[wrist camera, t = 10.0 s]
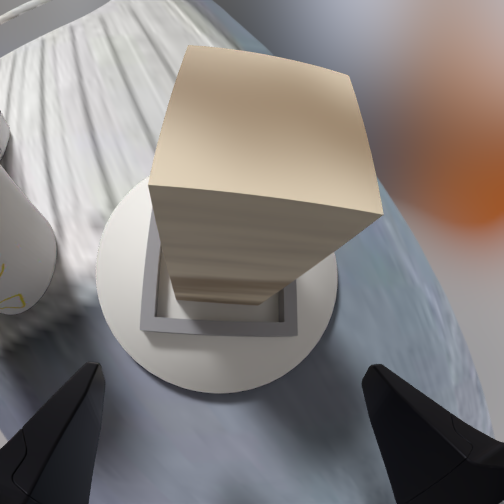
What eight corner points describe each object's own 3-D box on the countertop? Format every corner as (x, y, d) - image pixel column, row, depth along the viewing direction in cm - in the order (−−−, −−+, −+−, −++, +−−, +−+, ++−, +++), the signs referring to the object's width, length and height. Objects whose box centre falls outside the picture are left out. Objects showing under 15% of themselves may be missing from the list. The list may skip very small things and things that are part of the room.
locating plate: (334, 385, 18) (361, 389, 15) (92, 380, 16) (72, 385, 12) (321, 178, 24) (339, 154, 20) (121, 159, 21) (114, 130, 17)
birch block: (258, 305, 18) (383, 214, 6) (175, 299, 17) (147, 184, 5) (259, 230, 20) (348, 75, 8) (183, 222, 19) (188, 45, 7)
